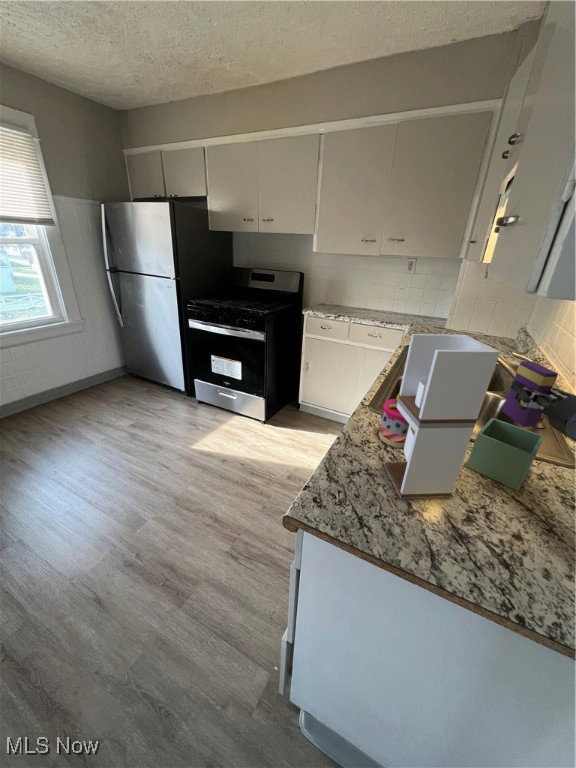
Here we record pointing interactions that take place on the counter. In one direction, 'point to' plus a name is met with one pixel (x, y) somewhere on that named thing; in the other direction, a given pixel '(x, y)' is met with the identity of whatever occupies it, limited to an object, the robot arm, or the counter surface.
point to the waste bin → (504, 452)
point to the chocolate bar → (535, 380)
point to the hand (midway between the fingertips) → (520, 384)
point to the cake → (393, 425)
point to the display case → (439, 410)
